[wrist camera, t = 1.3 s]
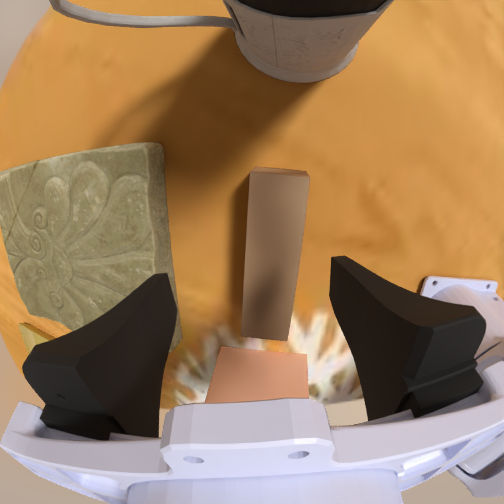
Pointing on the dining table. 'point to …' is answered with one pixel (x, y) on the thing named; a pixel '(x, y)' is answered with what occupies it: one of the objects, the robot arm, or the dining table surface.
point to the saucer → (33, 336)
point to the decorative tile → (87, 230)
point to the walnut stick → (273, 250)
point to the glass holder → (272, 31)
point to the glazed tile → (257, 376)
